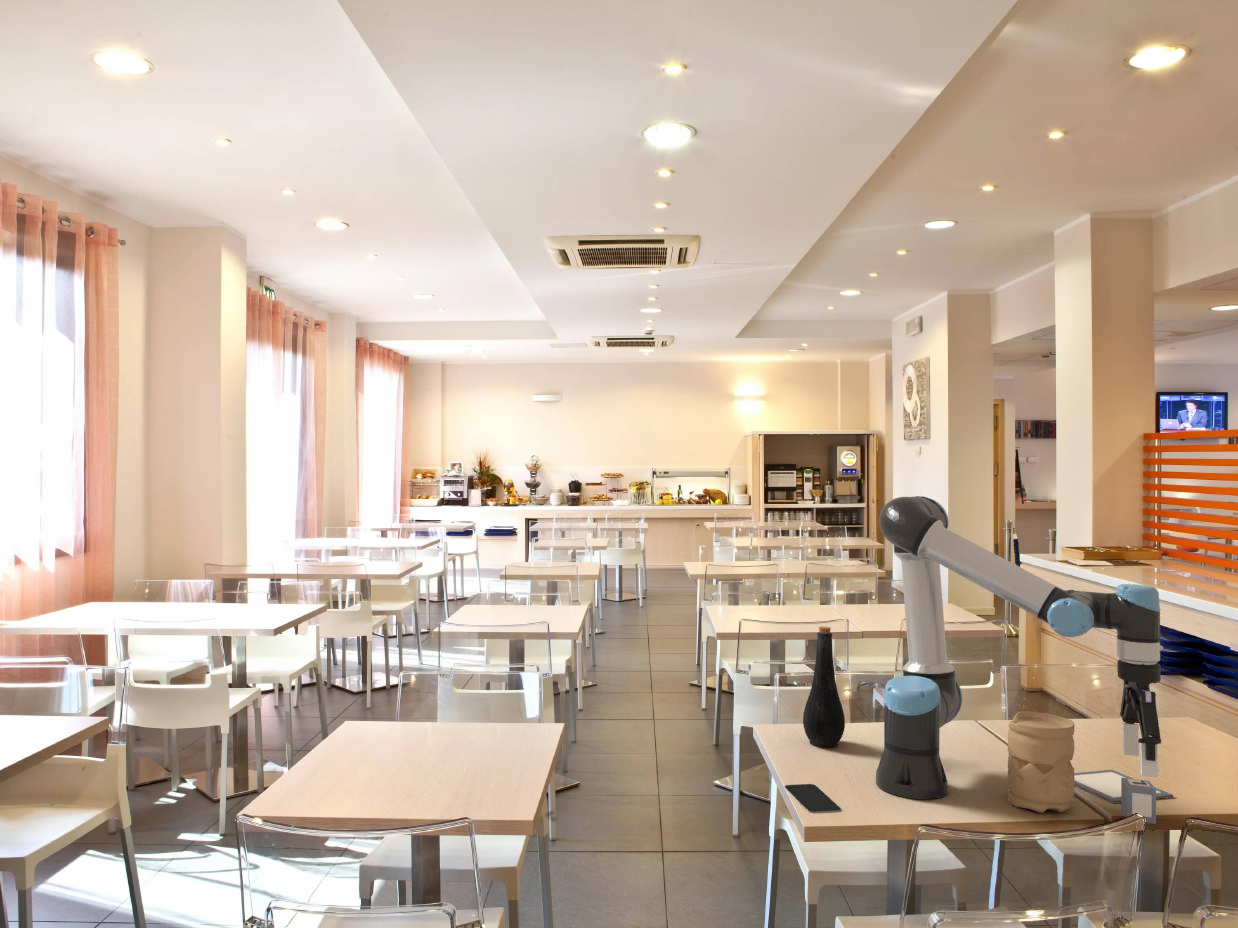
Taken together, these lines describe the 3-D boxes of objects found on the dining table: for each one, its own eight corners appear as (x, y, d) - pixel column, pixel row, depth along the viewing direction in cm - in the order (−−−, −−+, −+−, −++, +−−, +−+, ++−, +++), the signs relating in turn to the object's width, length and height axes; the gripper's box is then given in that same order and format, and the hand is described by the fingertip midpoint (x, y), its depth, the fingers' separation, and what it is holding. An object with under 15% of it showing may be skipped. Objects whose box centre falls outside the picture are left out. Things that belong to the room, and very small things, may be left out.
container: (1010, 811, 170) (1010, 723, 171) (1005, 790, 182) (1005, 708, 182) (1079, 820, 166) (1079, 731, 166) (1069, 798, 178) (1069, 715, 178)
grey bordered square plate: (1113, 803, 175) (1113, 800, 175) (1055, 777, 191) (1055, 774, 191) (1173, 797, 179) (1173, 794, 179) (1111, 771, 195) (1111, 769, 195)
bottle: (850, 741, 215) (851, 626, 215) (837, 752, 206) (838, 632, 206) (810, 734, 220) (811, 622, 221) (796, 744, 211) (798, 628, 212)
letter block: (1156, 824, 165) (1156, 787, 165) (1127, 820, 166) (1127, 784, 167) (1148, 814, 170) (1149, 778, 170) (1121, 811, 171) (1121, 775, 171)
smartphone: (814, 783, 184) (842, 809, 169) (814, 786, 184) (842, 812, 169) (782, 784, 182) (809, 811, 168) (782, 787, 182) (809, 814, 168)
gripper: (1179, 675, 156) (1180, 788, 155) (1142, 650, 179) (1144, 748, 179) (1133, 671, 158) (1135, 783, 158) (1103, 648, 182) (1104, 744, 181)
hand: (1139, 765), depth 168 cm, fingers open, 13 cm apart
